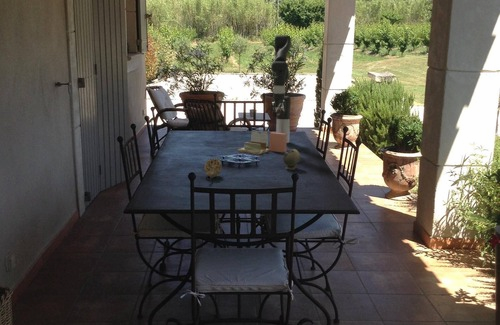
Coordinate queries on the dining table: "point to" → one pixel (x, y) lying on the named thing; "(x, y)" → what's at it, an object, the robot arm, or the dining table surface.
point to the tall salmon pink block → (278, 142)
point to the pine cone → (213, 167)
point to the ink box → (260, 136)
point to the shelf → (254, 147)
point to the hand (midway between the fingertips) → (278, 117)
